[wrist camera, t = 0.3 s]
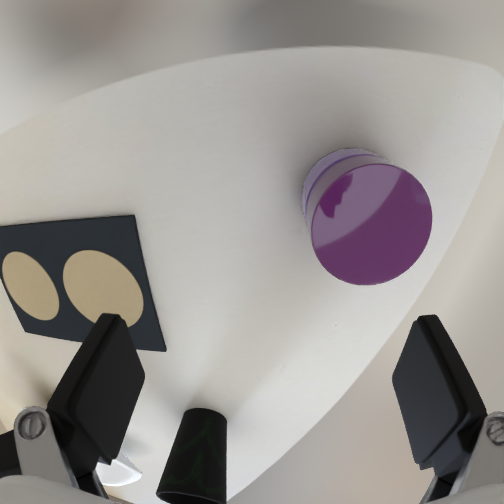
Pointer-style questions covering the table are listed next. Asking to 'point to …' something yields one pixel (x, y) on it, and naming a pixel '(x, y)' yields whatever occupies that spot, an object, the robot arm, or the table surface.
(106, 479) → the bowl
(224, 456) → the cup
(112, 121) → the table surface
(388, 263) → the purple short cylinder
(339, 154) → the lavender short cylinder
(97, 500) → the robot arm
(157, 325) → the placemat
